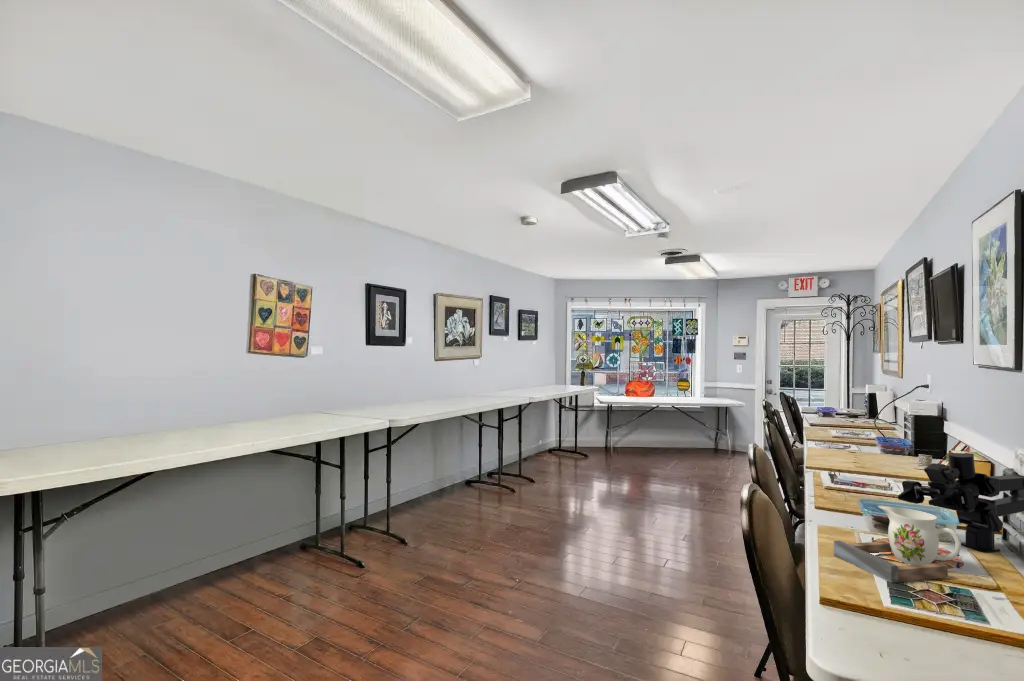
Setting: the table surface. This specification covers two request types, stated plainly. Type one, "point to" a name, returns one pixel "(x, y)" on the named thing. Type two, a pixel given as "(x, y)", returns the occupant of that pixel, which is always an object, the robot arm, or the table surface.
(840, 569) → the table surface
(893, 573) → the dock
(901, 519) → the pitcher
